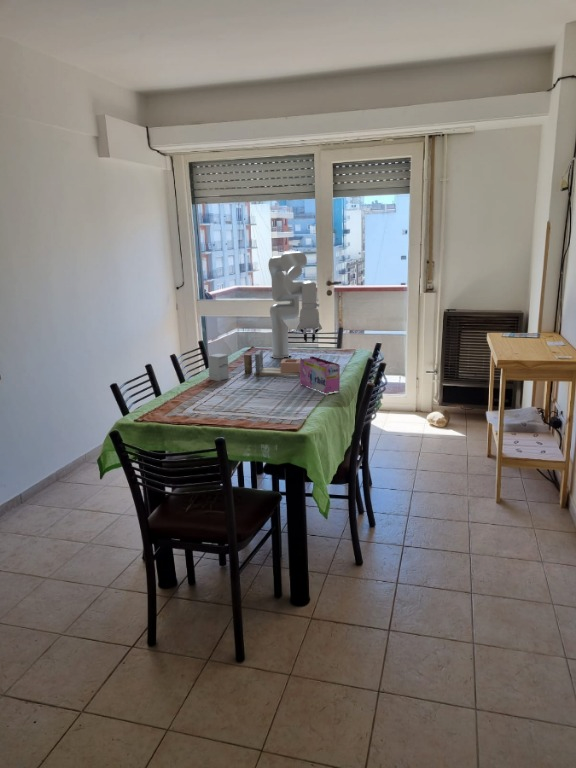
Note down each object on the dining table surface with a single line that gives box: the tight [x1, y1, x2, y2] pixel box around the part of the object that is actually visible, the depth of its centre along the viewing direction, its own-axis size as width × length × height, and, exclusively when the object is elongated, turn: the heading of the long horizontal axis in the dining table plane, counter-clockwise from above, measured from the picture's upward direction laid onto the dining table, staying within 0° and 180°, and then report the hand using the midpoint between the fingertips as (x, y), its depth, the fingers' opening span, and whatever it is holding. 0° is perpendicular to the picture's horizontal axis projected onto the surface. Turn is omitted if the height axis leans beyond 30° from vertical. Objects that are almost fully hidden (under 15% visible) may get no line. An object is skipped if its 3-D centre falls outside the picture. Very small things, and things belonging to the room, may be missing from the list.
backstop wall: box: [254, 349, 264, 377], centre depth 298 cm, size 12×2×12 cm, turn 174°
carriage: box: [279, 358, 301, 372], centre depth 297 cm, size 10×10×5 cm
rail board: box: [253, 367, 300, 377], centre depth 298 cm, size 12×28×2 cm, turn 84°
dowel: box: [243, 353, 253, 375], centre depth 299 cm, size 4×4×10 cm
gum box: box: [299, 356, 341, 393], centre depth 265 cm, size 24×8×14 cm, turn 31°
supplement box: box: [207, 353, 230, 382], centre depth 288 cm, size 7×7×13 cm
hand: (309, 341), depth 292 cm, fingers open, 3 cm apart
